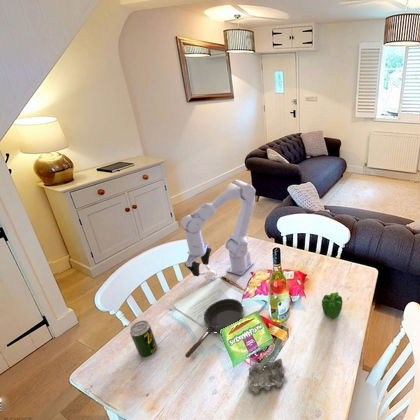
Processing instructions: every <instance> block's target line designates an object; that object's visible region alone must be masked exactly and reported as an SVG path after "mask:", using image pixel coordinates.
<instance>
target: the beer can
mask: <svg viewBox="0 0 420 420" xmlns="http://www.w3.org/2000/svg"><path fill="white" fill-rule="evenodd" d="M129 334H130V336H131V339H132V342H133V343H134V346H135V349H136V351H137V353H138V356H139V357H140V358H142V359H148V358H151V357H152V356H153V355H155V354H156V352H157V350H158V344H157V340H156V337H155V335H154V332H153V329H152V328H151V324H150V322H148V320H139V321H137V322H135V323H133V324H132V325H131V326H130V328H129Z"/></svg>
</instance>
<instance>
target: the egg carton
mask: <svg viewBox="0 0 420 420" xmlns="http://www.w3.org/2000/svg"><path fill="white" fill-rule="evenodd" d="M264 366H266V367H265V368H264ZM263 369H264V370H263ZM284 382H285V371H284V365H283V360H282V358H278V359H275V360H268V361H263V362H259V363H258V362H257V363H254V364H252V365H251V366H250V367H249V368H248V384H249V388H250V389H249V390H250V391H251V392H254V394H258V393H259V392H260V390H262V389H265V390H266V391H269V390H271V388H272V386H276V387H277V388H281V387H282V385H283V384H284Z"/></svg>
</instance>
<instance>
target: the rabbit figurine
mask: <svg viewBox="0 0 420 420" xmlns="http://www.w3.org/2000/svg"><path fill="white" fill-rule="evenodd" d="M204 265H205V264H204ZM205 269H207V271H201V272H200V271H199V276H205V275H206V276H205V277H206V278H207V279H211V280H213V281H214V279H216V277H217V273H216V272H215V270H213V269H212V268H211V266H210V265H209V264H208V265H205Z"/></svg>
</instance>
